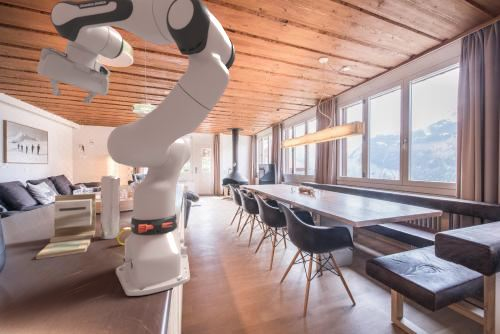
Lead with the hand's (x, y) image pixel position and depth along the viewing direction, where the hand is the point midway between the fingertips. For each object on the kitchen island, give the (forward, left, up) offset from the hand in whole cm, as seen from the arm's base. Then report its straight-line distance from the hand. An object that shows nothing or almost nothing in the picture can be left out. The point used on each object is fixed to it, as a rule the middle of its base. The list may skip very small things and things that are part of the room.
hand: (72, 99), depth 75 cm
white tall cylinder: (+8, -11, -52) cm, 54 cm away
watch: (-5, -17, -52) cm, 55 cm away
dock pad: (-1, +1, -52) cm, 52 cm away
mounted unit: (+14, +1, -52) cm, 54 cm away
